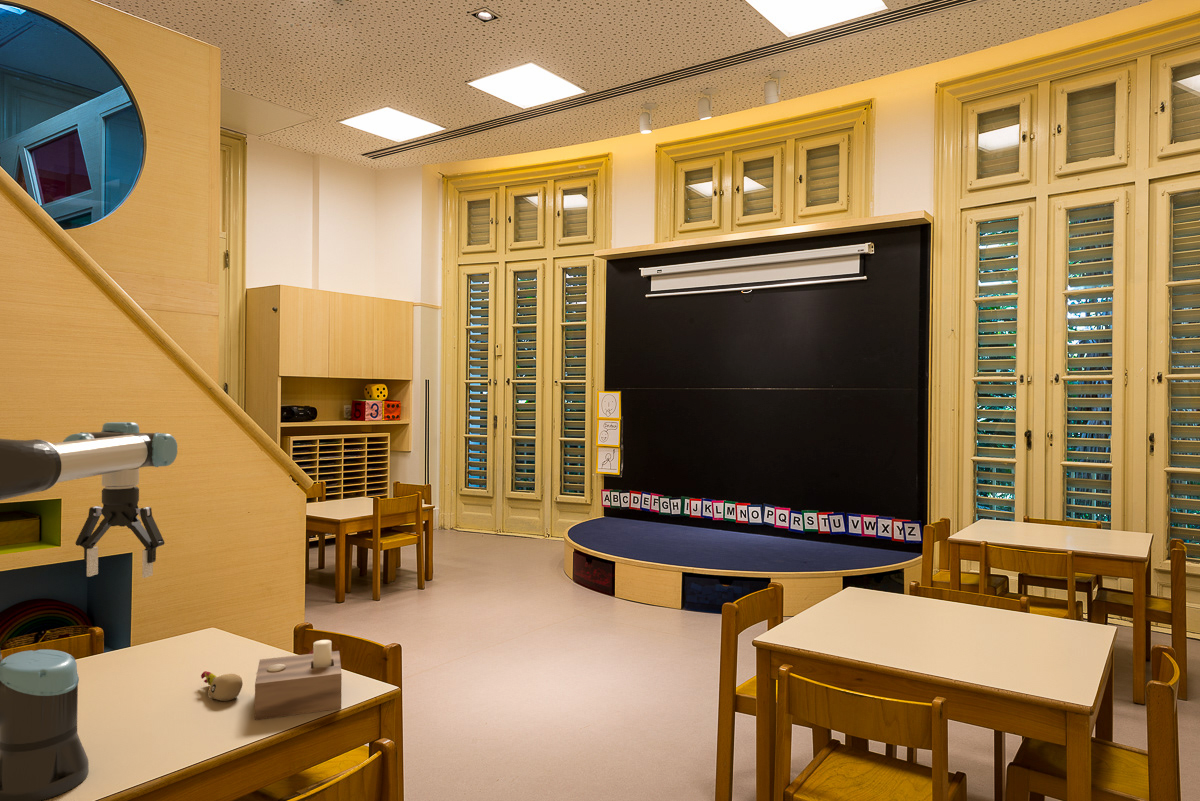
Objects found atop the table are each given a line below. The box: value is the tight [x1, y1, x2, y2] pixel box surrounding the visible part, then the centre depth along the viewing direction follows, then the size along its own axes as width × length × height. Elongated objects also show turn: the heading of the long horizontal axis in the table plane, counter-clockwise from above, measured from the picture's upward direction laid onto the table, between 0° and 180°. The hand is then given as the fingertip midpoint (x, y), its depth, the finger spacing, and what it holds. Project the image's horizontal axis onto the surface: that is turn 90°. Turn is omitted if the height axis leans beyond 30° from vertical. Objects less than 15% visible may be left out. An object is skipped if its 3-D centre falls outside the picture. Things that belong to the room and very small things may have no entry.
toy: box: [200, 670, 243, 702], centre depth 179 cm, size 6×7×15 cm
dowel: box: [312, 639, 333, 668], centre depth 177 cm, size 4×4×8 cm
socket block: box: [254, 650, 343, 721], centre depth 175 cm, size 16×18×8 cm
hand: (119, 575), depth 179 cm, fingers open, 13 cm apart
